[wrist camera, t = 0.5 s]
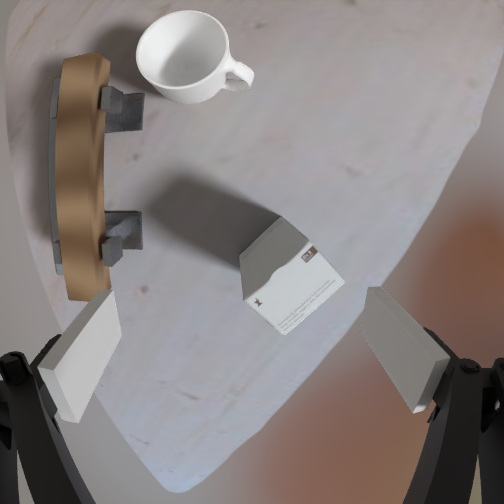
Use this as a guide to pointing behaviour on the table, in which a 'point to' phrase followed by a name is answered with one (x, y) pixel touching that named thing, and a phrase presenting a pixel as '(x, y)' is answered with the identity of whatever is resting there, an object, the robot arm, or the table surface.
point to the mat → (53, 174)
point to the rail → (81, 175)
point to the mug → (189, 58)
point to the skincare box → (285, 276)
